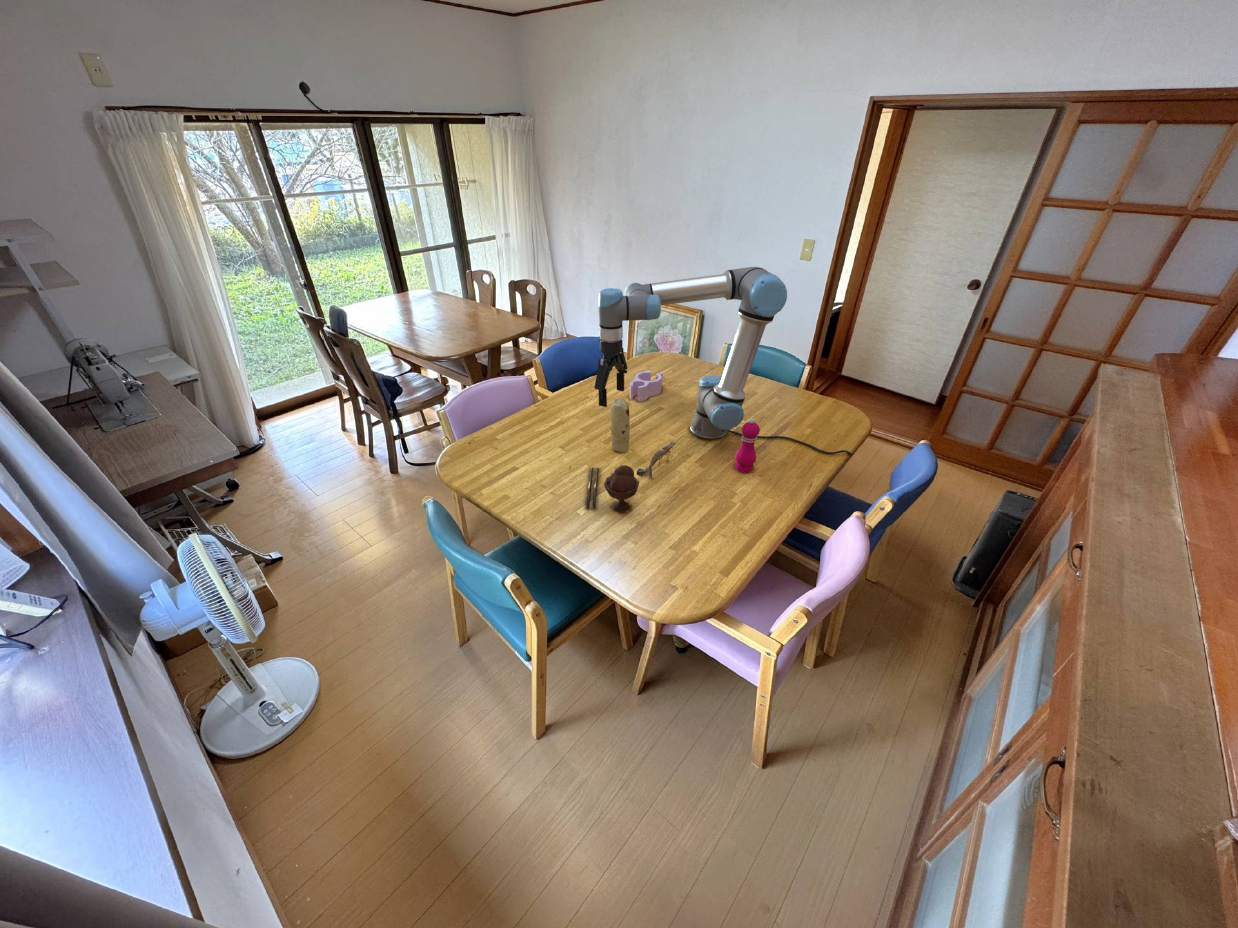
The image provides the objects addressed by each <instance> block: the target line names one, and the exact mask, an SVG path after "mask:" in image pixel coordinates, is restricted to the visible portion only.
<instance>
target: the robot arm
mask: <svg viewBox="0 0 1238 928" xmlns="http://www.w3.org/2000/svg"><path fill="white" fill-rule="evenodd" d="M723 298H724V299H725V300H727V301H731V300H738V301H740V304H739V307H738V310H737V313H738V315H739V317H740V319H739V322H738V324H737V325H738V326H737V327H736V332H735V334H734V338H733V340H732V343H731V346H730V350H729V354H728V356H727V360H726V363H725V366H724V369H723V372H722V375H706V376H703V377H701V378H700V379H699V383H698V385H697V386H698V389H697V401H696V412H695V414H694V417H693V418H692V420H691V422H690V426H689V431H690V433H691V434H692V435H693V436H695V437H697V438H698V439H702V440H707V441H709V440H710V441H716V440H721V439H723V438H725V437H726V436H727V435H728V434H729V433H731V434H735V435H736V436H740V437H742V434H743V433H739V432H737V431H734V430H732V429H734V428H737V427H738V426H739V425H740V424H741V423H742V422H743V420H744V416H745V412H744V411H745V410H744V408H743V404H744V402H745V398H746V393H745V391H744V389H745V386H746V383H747V380H748V377H749V375H750V372H751V369H752V366H753V363H754V360H755V358H756V355H757V353H758V349H759V347H760V344H761V341H762V338H763V335H764V332H765V329H766V326H767V325H768V324H770V323H772V322H773V321H774V319H775V316H776V315H777V314H778V313H780V312H781V311H782V310H783V308H784V307H785V305H786V303H787V301H788V289H787V287H786V284H785V283H784V281H783V280H782V279H781V278H780V277H779V276H778V275H776V274H773V273H771V272H770V271H769V270H767V269H765V268H763V267H761V266H748V267H747V266H745V267H740V268H733V269H726V270H725V271H724V272H723V273H720V274H714V275H713V274H712V275H704V276H698V277H689V278H681V279H675V280H668V281H667V280H666V281H659V282H652V283H644V284H641V283H639V282H631V283H629V284H628V285H627V286H626V287H625V289H624V292H623V291H622V289H620V288H613V287H609V288H608V287H607V288H604V289H603V288H602V289H601V290H600V291H599V293H598V325H599V327H598V331H599V351H600V352H601V353H602V354H603V357H602V358H598V361H597V362H598V364H597V371H596V377H595V382H594V390H597V391H598V406H600V407H604V408H607V407H608V394H607V393H608V392H607V391H608V389H607V388H606V387H607V383H608V381H609V377H610V373H611V372H612V371H613V368H615V369H616V371H617V372H616V391H620V392H625V374H627V373H628V364H627V361H626V356H625V353H624V347H623V346H624V343H623V342H624V341H623V338H624V337H623V335H624V334H623V333H624V332H623V331H624V330H623V323H624V321H625V322H627V321H629V322H630V321H651V320H652V321H654V320H658V319H659V318H660V316H661V310H662V306H668V305H669V306H670V305H676V304H684V303H691V302H701V301H707V300H715V299H723ZM757 439H784V440H789V441H793V442H795V443H798V444H800V445H804V446H806V447H808V448H811V449H813V450H815V451H818V452H819V453H823V454H827V455H836V454H841V453H846V454H848V456H852V453H851V452H850V451H848V450H846V449H843V450H837V451H826V450H822V449H820V448H817V447H816V446H814V445H813V444H812V445H811V444H809V443H807V442H804V441H801V440H799V439H796V438H792V437H789V436H782V435H770V436H769V435H767V436H766V435H764V436H763V435H757Z"/></svg>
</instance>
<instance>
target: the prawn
mask: <svg viewBox="0 0 1238 928" xmlns="http://www.w3.org/2000/svg"><path fill="white" fill-rule="evenodd" d="M676 444H677V442H675V440H674V441H671V442H670V443H668V444H667V445H665V446H663V447H662V448H660V449H657V451H655V452H654V454H653V455H652V458H651V461H650V463H649V465H648V466H647V467H645V469H643V468H641V467H639V468H638V469H636V476H638V477H642V476H644V475H647V474H648V477H649V478H652V477H653V467H654V466H655V465H656V463H657V462H658V466H657V467H659V466H660V464H661V461H662V460H663V457H664V456H666V457H669V456H670V455H671V457H670V458H671V459H672V458H673V453H674V451H672V450H674V447H675V445H676ZM671 449H672V450H671ZM652 450H655V448H654V449H652ZM668 460H669V458H667V459H666V462H668Z"/></svg>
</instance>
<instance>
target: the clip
mask: <svg viewBox="0 0 1238 928" xmlns="http://www.w3.org/2000/svg"><path fill="white" fill-rule="evenodd" d="M663 376H664V374H663V372H658V373H656V374H655V379H654V380H651V379H652V371H651V369H647V371H641V372H637V373H636V374H635V376H634V379H633V380H631V381H630V382H629V400H632V401H633V400H634V396H637V402H645V401H646V400H648V398H649V397H654V396H657V395H660V393H662V387H663V378H664V377H663Z"/></svg>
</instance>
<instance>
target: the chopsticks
mask: <svg viewBox="0 0 1238 928" xmlns="http://www.w3.org/2000/svg"><path fill="white" fill-rule="evenodd" d="M593 474H594V468H593V467H590V471H589V480H588V488H587V494H586V495H587V496H586V504H585V509H587V510H589V509H590V502H591V501H590V500H591V491H592V483H593ZM598 480H599V467H596V468H595V476H594V486H593V497H592V507H591V508H592V510H595V509H596V503H597V491H598V483H599V482H598Z"/></svg>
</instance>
